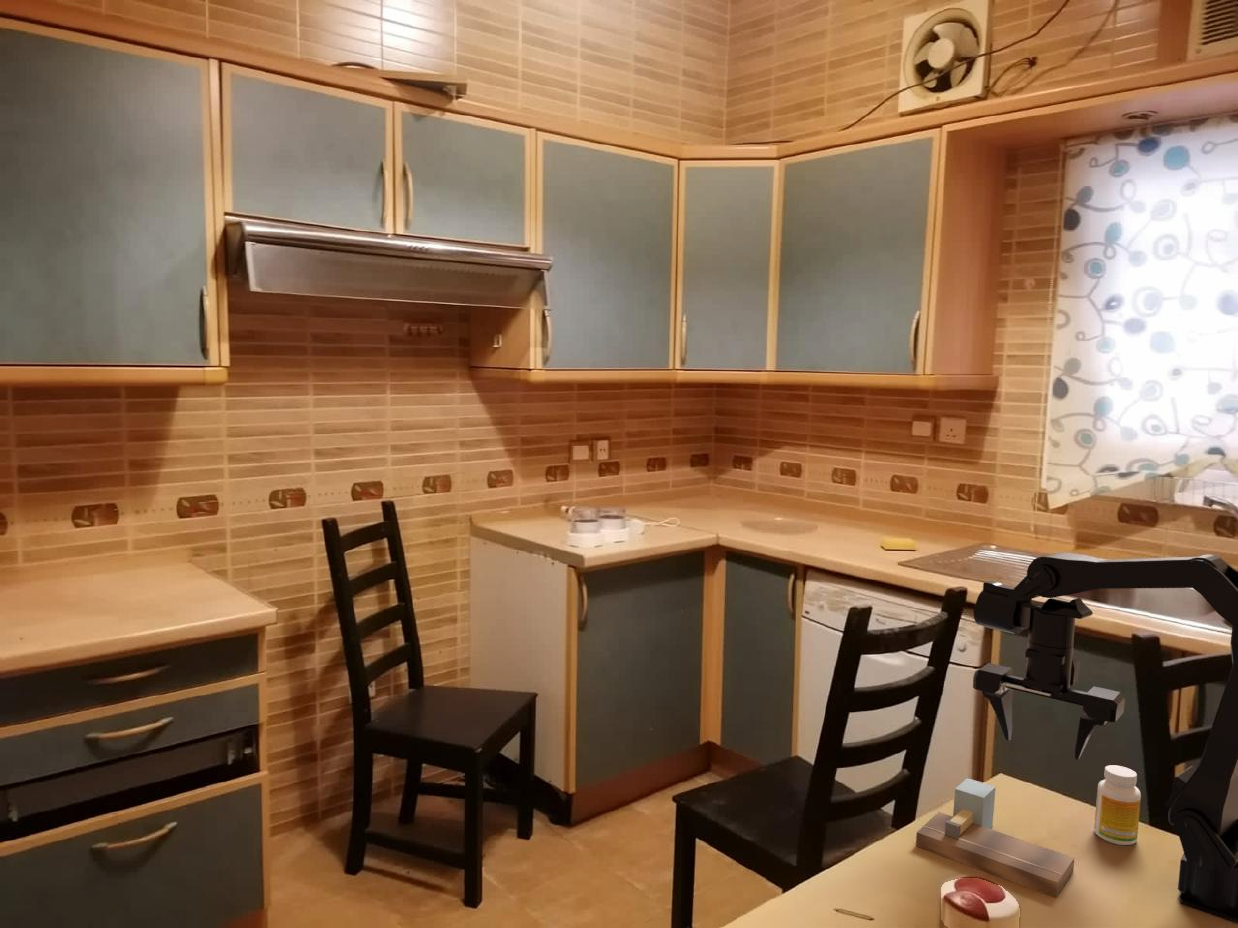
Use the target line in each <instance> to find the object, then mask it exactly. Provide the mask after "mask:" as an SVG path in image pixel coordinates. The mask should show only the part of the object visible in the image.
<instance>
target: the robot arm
mask: <svg viewBox="0 0 1238 928" xmlns="http://www.w3.org/2000/svg"><path fill="white" fill-rule="evenodd" d="M982 586H983V587H982V590H981V591H980V592H979V594H978V596H977V599H976V602H975V604H974V605H973V619H974V622H975V623H976V625H978V626H979V627H981V626H982V627H985V628H989V629H993V630H996V631H1001V632H1005V633H1009V634H1013V635H1019V634H1021V633H1023V631H1024V630H1027V629H1028V637H1027V639H1028V640H1027V649H1025V654H1024V657H1025V677H1020V676H1016V675H1014V669H1013V668H1012V667H1009V666H1004V665H999V664H996V663H991V662H988V663H986V664H985V665H983V666H982V667H981V668H979V669H977V670H976V671H975V672H974V674H973V680H972V688H973V689H974V690H976V691H977V690H978V691H981V696H982V697H984V698H987V700H988V701H989V704H990V705H991V708H992V709H993V711H994V713H995V716H996V719H997V721H998V723H999V725H1000V728H1001V730H1002V734H1003V736H1004V739H1005V740H1006V741H1007V742H1010V740H1012V734H1013V699H1014V698H1013V697H1014V691H1018V692H1022V693H1027V694H1030V695H1035V696H1039V697H1044V698H1049V699H1053V700H1057V701H1061V702H1064V703H1069V704H1074V705H1077V706H1082V710H1083V712H1084V713H1083V714H1082V715H1081V716H1080V717H1079V721H1078V728H1077V734H1076V740H1075V746H1074V760H1075V761H1079V760H1080V759H1081V756H1082V754H1083V753H1084V750H1085V747H1086V746H1087V744H1088V742H1089V739H1090V737H1091V736H1092V735H1093V734H1092V733H1093V732H1094V730H1095V728H1096V727H1097V726H1101V727H1103V726H1105V725H1107V723H1116V722H1117V721H1118V720H1119V719H1120V717H1121V716H1122V715H1123V714H1124V712H1125V704H1126V699H1125V696H1124V695H1123V694H1122V692H1121V691H1117V690H1112V689H1109V688H1103V687H1099V686H1092V688H1090V689H1089V690H1088V691H1082V690H1077V689H1074V688H1071V687H1070V686H1072V687H1074V686H1075V685H1076V684H1078V681H1079V675H1080V670H1081V669H1080V668H1081V664H1082V662H1080V661H1079V660H1077V659H1075V658H1074V656H1075V652H1074V639H1075V627H1076V626H1075V625H1076V619H1078V620H1082V619H1084V618H1088V617H1091V616H1093V614H1094V613H1093V610H1092V609H1091V608H1089V606H1088V605H1087V604H1085V603H1084V602H1083V600H1082V598H1081V597H1076V598H1074V599H1072V600H1070V601H1067V600H1063V599H1058V598H1059V597H1063V596H1070V595H1074V594H1081V593H1084V592H1089V591H1095V590H1102V589H1104V590H1106V589H1110V590H1111V589H1112V590H1113V589H1194V591H1196V593H1198V594H1200V595H1201V596H1202V597H1203V599H1204V600H1205V601H1206V602H1207V603H1208V605H1210V606H1211V607H1212V609H1213V610H1214V611H1215V612H1216V613H1217V614H1218V615H1219V616H1220V617H1221V618H1223V619H1224V620H1225V621H1227V622H1228V623H1229V624H1230V625H1232V627H1231V637H1230V653H1231V663H1232V664H1231V669H1230V672H1229V675H1228V678H1227V681H1226V684H1225V685H1224V686H1225V687H1224V689H1223V691H1222V692H1223V693H1222V695H1221V698H1220V701H1219V704H1218V708H1217V710H1216V714H1215V717H1214V719H1213V722H1212V725H1211V728H1210V730H1209V733H1208V737H1207V740H1206V743H1205V746H1204V749H1203V751H1202V754H1201V757H1200V760H1199V763H1198V765H1197V767H1195V766H1194V765H1191V766H1189V767H1187V768H1186V769H1184V770H1183V771H1181V772H1180V773H1179V774H1178V775H1176V776H1175V777H1174V778H1173V781H1172V786H1171V788H1172V789H1171V794H1170V796H1169V798H1168V800H1167V801H1165V803H1163V805H1164V807H1167V808H1168V807H1169V809H1168V815H1167V817H1168V819H1167V820H1168V822H1169V824H1170V825H1171V827H1172V828H1173V830H1174V832H1175V833H1176V834H1177V835H1178V838H1179V841H1180V843H1181V847H1182V851H1183V854H1182V856H1181V857H1180V858H1181V859H1180V862H1179V863H1180V864H1179V874H1178V882H1177V884H1178V885H1177V890H1178V891H1179V892H1180V893H1181V894H1180V896H1179V902H1180V903H1181V904H1183V905H1186V906H1189V907H1192V908H1193V909H1194V908H1195V909H1198V910H1200V911H1203V912H1207V913H1210V914H1211V915H1212V914H1213V915H1215V916H1218V917H1221V918H1224V919H1227V920H1230V921H1233V922H1234V923H1235V922H1236V923H1238V569H1237V568H1236V569H1235V568H1234V567H1233V566H1232V565H1230V564H1229V562H1228V563H1227V562H1226V561H1225V560H1224V559H1223V558H1221V557H1219V556H1217V555H1215V554H1209V553H1208V554H1203V555H1199V556H1176V557H1174V556H1173V557H1149V558H1148V557H1146V558H1145V557H1144V558H1110V559H1108V558H1107V559H1106V558H1099V557H1096V556H1095V557H1094V556H1090V555H1088V554H1080V553H1074V552H1072V553H1071V552H1063V551H1061V552H1057V553H1053V554H1047V555H1044V556H1039V557H1036V558H1034V559H1033V560H1032V561H1031V563H1030V564H1028V567H1027V571H1026V576H1024V578H1023V579H1022V580H1021V581H1019V583H1018V584H1016V586H1012V585H1007V584H1003V583H1001V582H998V581H993V580H989V581H985V582H983V583H982ZM1039 597H1040V598H1046V599H1047V600H1045V601H1039V600H1034V599H1036V598H1039ZM1056 598H1057V599H1056Z"/></svg>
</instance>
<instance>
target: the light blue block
mask: <svg viewBox="0 0 1238 928" xmlns="http://www.w3.org/2000/svg"><path fill="white" fill-rule="evenodd" d="M995 798H996V786H994V785H992V784H991V785H990V784H988V783H984V782H982V781H979V780H975V779H971V778H966V779H965V780H963V781H962V782H961V783H960V784H958V786H956V787H955V789H954V799H953V811H952V812H953V814H952V816H953V818H952V819H951V820H950V821H949V820H947V821H946V823H945V835H946V836H949V837H952V838H955V839H959V838H960V835H961V834H962V833H963V832H964V831H965V830H966V829H967V828H968V827H969V826H970V825H971V824H972V823H973V824H976V825H979V826H982V827H985V828H988V829H991V830H992V828H993V824H994V813H995Z"/></svg>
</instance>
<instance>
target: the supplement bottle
mask: <svg viewBox="0 0 1238 928" xmlns="http://www.w3.org/2000/svg"><path fill="white" fill-rule="evenodd" d="M1103 773H1104V774H1103V776H1104V777H1103V778H1104V779H1103V780H1100V781H1099V782H1098V784H1097V793H1096V804H1095V814H1094V815H1095V816H1094V825H1093V827H1094V833H1095V835H1097V836H1098V837H1099V838H1101V839H1102V840H1104V841H1106V842H1108V843H1112V844H1114V845H1118V846H1119V845H1121V846H1130V845H1134V844H1135V843H1137V841H1138V834H1139V823H1140V822H1139V821H1140V811H1141V801H1142V800H1141V799H1142V794H1141V791H1140V789H1139V788H1138V787H1137V786H1136V785H1137V781H1138V774H1137V772H1136V771H1134V770H1132V769H1131V768H1128V767H1125V766H1122V765H1115V764H1113V765H1112V764H1111V765H1109V764H1108V765H1106V766H1105V767H1104V772H1103Z"/></svg>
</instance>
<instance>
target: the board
mask: <svg viewBox="0 0 1238 928" xmlns="http://www.w3.org/2000/svg"><path fill="white" fill-rule="evenodd" d="M952 818H953V815H950V814H946V813H944V812H941V811H938V812H937V813H935V814H934V815H933V816H932V817H931V818H930V819H929V820H928V821H927V822H926V823H925V824H924V825H922V827H921V828H920V829H918V830H917V831H916V836H915V837H916V838H915V847H917V848H920V849H923V850H926V851H928V852H930V853H934V854H936V855H939V856H942V857H945V858H948V859H949V860H953V861H955V862H958V863H961V864H962V865H963V864H964V865H966V866H969V867H972V868H975V869H977V870H979V871H982V872H985V873H988V874H991V875H993V876H996V877H998V878H1000V879H1004V880H1006V881H1010V882H1013V883H1015V884H1018V885H1020V886H1024V887H1026V888H1029V889H1031V890H1034V891H1037V892H1039V893H1042V894H1045V895H1048V896H1050V897H1052V898H1057V897H1058V896H1059V895H1060V893H1061V891H1062V890H1063V888H1064V887H1065V885H1066V884H1067V882H1068V881H1069V879H1070V878H1071V876H1072V875H1073V873H1074V867H1075V857H1074V856H1071V855H1068V854H1065V853H1062V852H1059V851H1056V850H1053V849H1051V848H1048V847H1044V846H1041V845H1038V844H1035V843H1032V842H1029V841H1026V840H1023V839H1020V838H1018V837H1014V836H1012V835H1009V834H1005V833H1002V832H999V831H996V830H994V829H992V828H991V829H988V828H985V827H982V826H979V825H976V824H973V823H972V824H971V825H970V826H969V827H968V828H967V829H966V830H965V831H964V832H963V833H962V834H961V835H960V838H959V839H955V838H952V837H949V836H946V835H945V823H946V821H947V820H949V821H950V820H951V819H952Z"/></svg>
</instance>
